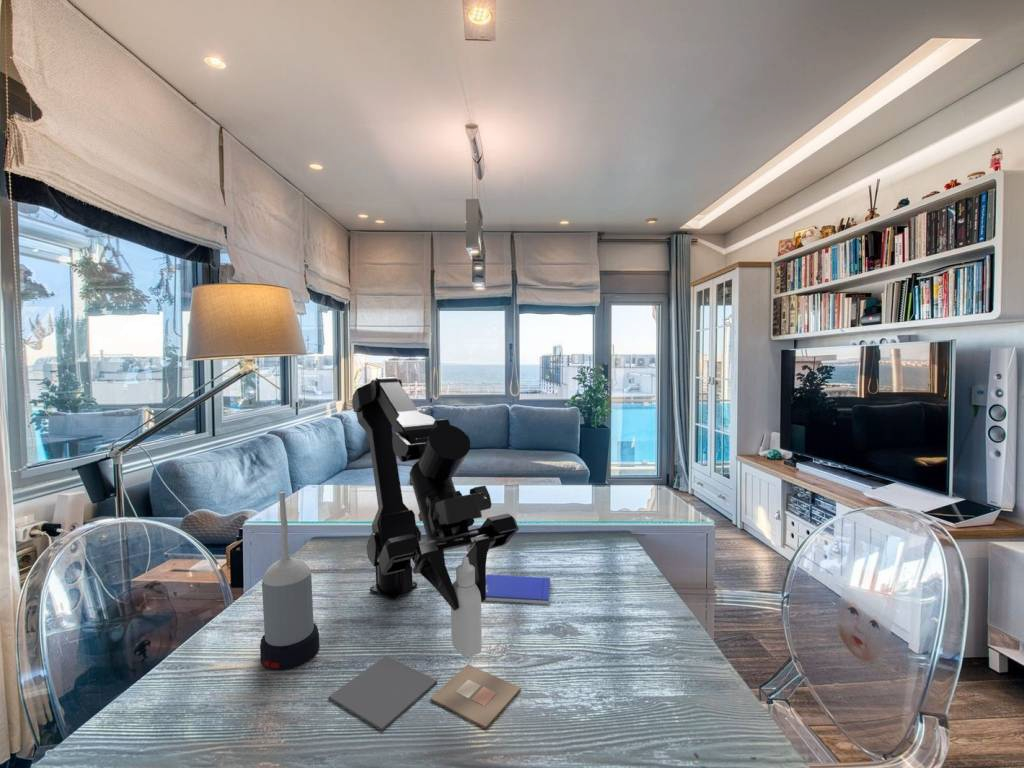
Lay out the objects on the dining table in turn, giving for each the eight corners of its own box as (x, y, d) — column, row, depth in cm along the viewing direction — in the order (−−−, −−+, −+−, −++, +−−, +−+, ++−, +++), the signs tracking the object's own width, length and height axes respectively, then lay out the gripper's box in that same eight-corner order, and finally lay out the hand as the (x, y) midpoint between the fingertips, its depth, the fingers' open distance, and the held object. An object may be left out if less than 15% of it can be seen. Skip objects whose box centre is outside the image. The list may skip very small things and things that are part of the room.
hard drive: (479, 594, 90) (548, 598, 88) (487, 573, 98) (550, 576, 96) (479, 603, 90) (548, 606, 88) (487, 580, 98) (550, 584, 97)
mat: (328, 698, 65) (328, 696, 65) (386, 657, 74) (386, 655, 74) (381, 730, 60) (381, 728, 60) (437, 682, 68) (436, 680, 68)
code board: (430, 700, 65) (430, 697, 65) (467, 665, 72) (467, 663, 72) (485, 729, 60) (485, 726, 60) (520, 689, 67) (520, 687, 67)
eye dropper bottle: (484, 632, 68) (484, 548, 67) (480, 659, 63) (479, 568, 61) (453, 631, 68) (452, 548, 67) (446, 658, 63) (444, 567, 61)
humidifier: (257, 677, 70) (247, 504, 67) (263, 643, 77) (254, 487, 75) (319, 662, 73) (312, 496, 70) (319, 631, 80) (312, 481, 78)
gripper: (382, 478, 62) (414, 604, 53) (512, 458, 71) (556, 563, 63) (368, 518, 69) (393, 634, 61) (487, 496, 79) (523, 594, 70)
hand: (470, 605), depth 64 cm, fingers closed on eye dropper bottle, 3 cm apart
